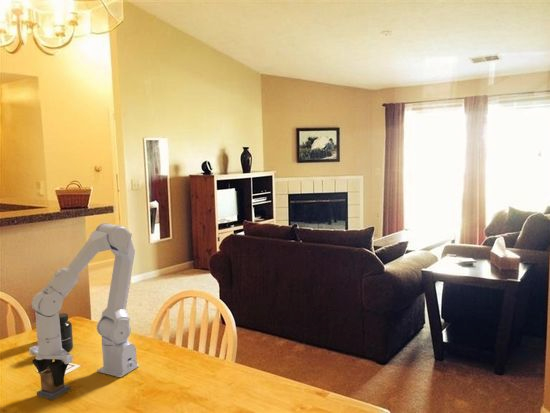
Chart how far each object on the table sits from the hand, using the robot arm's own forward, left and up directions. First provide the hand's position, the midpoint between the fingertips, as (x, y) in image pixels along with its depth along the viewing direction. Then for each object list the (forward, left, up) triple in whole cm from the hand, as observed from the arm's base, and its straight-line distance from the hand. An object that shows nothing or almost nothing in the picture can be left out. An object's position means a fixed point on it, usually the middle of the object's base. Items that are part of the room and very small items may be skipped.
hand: (53, 383), depth 126 cm
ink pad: (0, 0, -3) cm, 3 cm away
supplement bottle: (+21, -21, -3) cm, 30 cm away
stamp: (0, 0, -2) cm, 2 cm away
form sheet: (+11, -11, -3) cm, 15 cm away
